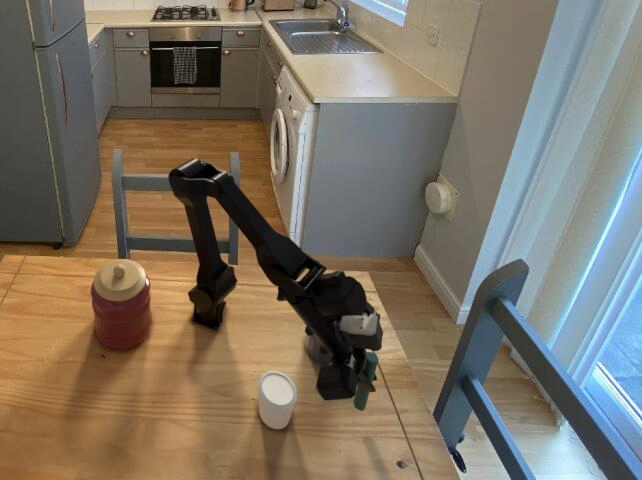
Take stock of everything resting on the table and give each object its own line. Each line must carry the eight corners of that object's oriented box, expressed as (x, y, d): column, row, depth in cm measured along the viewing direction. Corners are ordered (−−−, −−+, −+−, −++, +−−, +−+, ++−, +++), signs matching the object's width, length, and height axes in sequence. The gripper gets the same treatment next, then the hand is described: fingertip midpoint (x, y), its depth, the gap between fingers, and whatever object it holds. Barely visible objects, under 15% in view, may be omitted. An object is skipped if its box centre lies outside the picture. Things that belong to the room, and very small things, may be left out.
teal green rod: (353, 408, 76) (365, 359, 71) (353, 397, 78) (365, 349, 73) (365, 412, 76) (378, 364, 71) (365, 402, 77) (378, 354, 72)
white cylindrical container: (294, 437, 75) (299, 412, 72) (255, 428, 76) (258, 404, 73) (291, 397, 81) (295, 373, 78) (255, 390, 82) (257, 366, 80)
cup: (303, 356, 88) (306, 338, 86) (307, 329, 94) (310, 312, 92) (338, 369, 86) (342, 351, 84) (340, 341, 91) (344, 323, 89)
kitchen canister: (142, 295, 104) (140, 239, 97) (159, 341, 92) (157, 281, 85) (90, 310, 100) (83, 252, 93) (100, 359, 89) (94, 298, 82)
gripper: (348, 349, 62) (417, 436, 61) (364, 266, 77) (419, 335, 76) (289, 359, 69) (350, 438, 68) (314, 281, 84) (365, 345, 83)
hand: (374, 385), depth 74 cm, fingers closed on teal green rod, 2 cm apart
